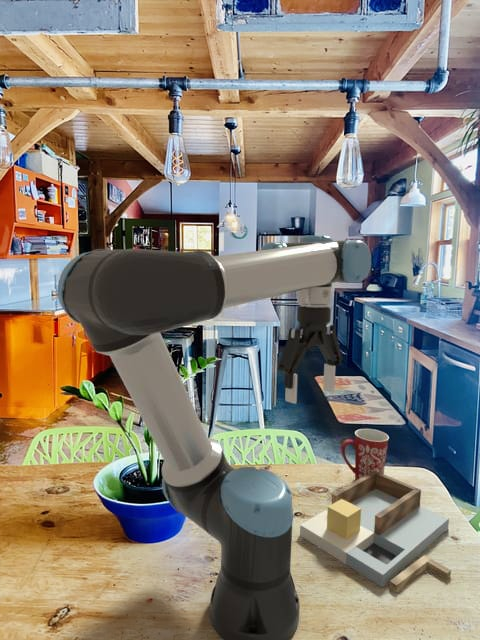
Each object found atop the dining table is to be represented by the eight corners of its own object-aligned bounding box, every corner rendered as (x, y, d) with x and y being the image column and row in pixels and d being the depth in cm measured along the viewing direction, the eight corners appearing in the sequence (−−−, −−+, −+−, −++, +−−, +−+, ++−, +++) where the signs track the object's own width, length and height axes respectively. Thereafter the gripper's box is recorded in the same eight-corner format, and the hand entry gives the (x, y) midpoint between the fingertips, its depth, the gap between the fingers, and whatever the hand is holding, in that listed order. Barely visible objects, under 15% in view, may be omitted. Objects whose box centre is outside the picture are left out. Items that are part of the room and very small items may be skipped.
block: (346, 539, 88) (347, 517, 88) (326, 528, 92) (327, 506, 92) (360, 530, 92) (361, 508, 91) (340, 519, 95) (341, 498, 95)
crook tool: (416, 606, 75) (417, 598, 74) (389, 587, 79) (389, 580, 79) (450, 576, 82) (451, 570, 82) (423, 561, 86) (424, 555, 86)
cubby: (379, 535, 90) (380, 517, 90) (331, 509, 99) (331, 493, 99) (419, 505, 102) (421, 489, 101) (373, 485, 111) (374, 470, 111)
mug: (380, 473, 123) (382, 428, 121) (390, 489, 114) (393, 441, 112) (336, 472, 123) (338, 427, 121) (343, 488, 114) (345, 440, 112)
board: (382, 587, 79) (383, 574, 78) (299, 535, 94) (300, 524, 93) (448, 528, 97) (449, 518, 97) (370, 492, 112) (370, 484, 112)
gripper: (288, 309, 86) (285, 411, 88) (359, 304, 102) (355, 390, 104) (262, 306, 91) (260, 402, 94) (334, 302, 107) (330, 383, 110)
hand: (310, 396), depth 99 cm, fingers open, 13 cm apart
